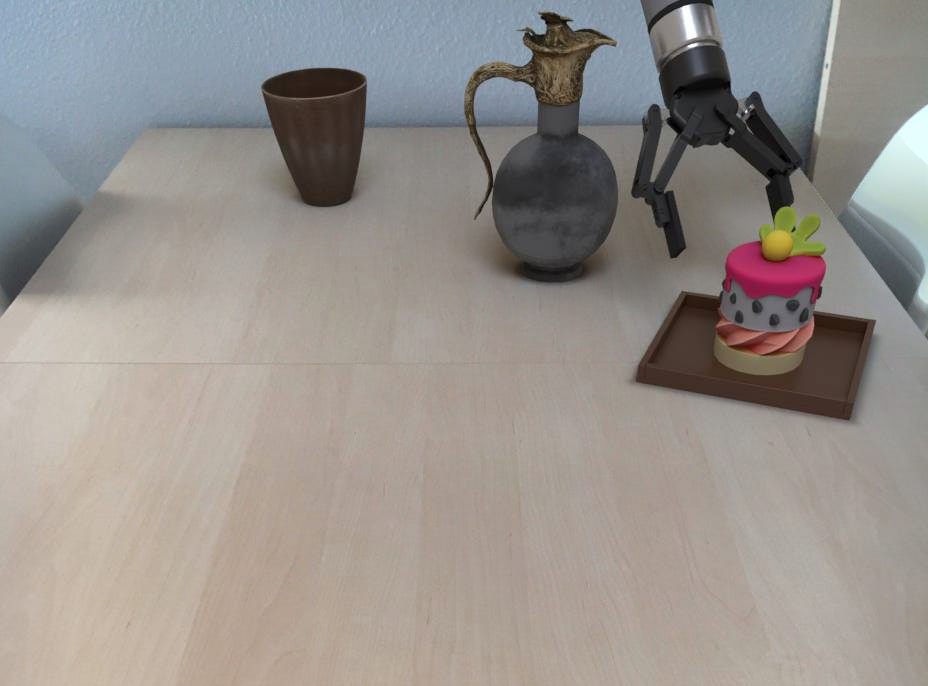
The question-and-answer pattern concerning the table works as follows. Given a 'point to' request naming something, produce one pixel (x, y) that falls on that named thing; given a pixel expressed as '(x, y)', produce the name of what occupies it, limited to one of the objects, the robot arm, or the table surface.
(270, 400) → the table surface
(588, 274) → the table surface
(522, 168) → the pitcher
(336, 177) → the flower pot
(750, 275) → the cake
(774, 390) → the tray
